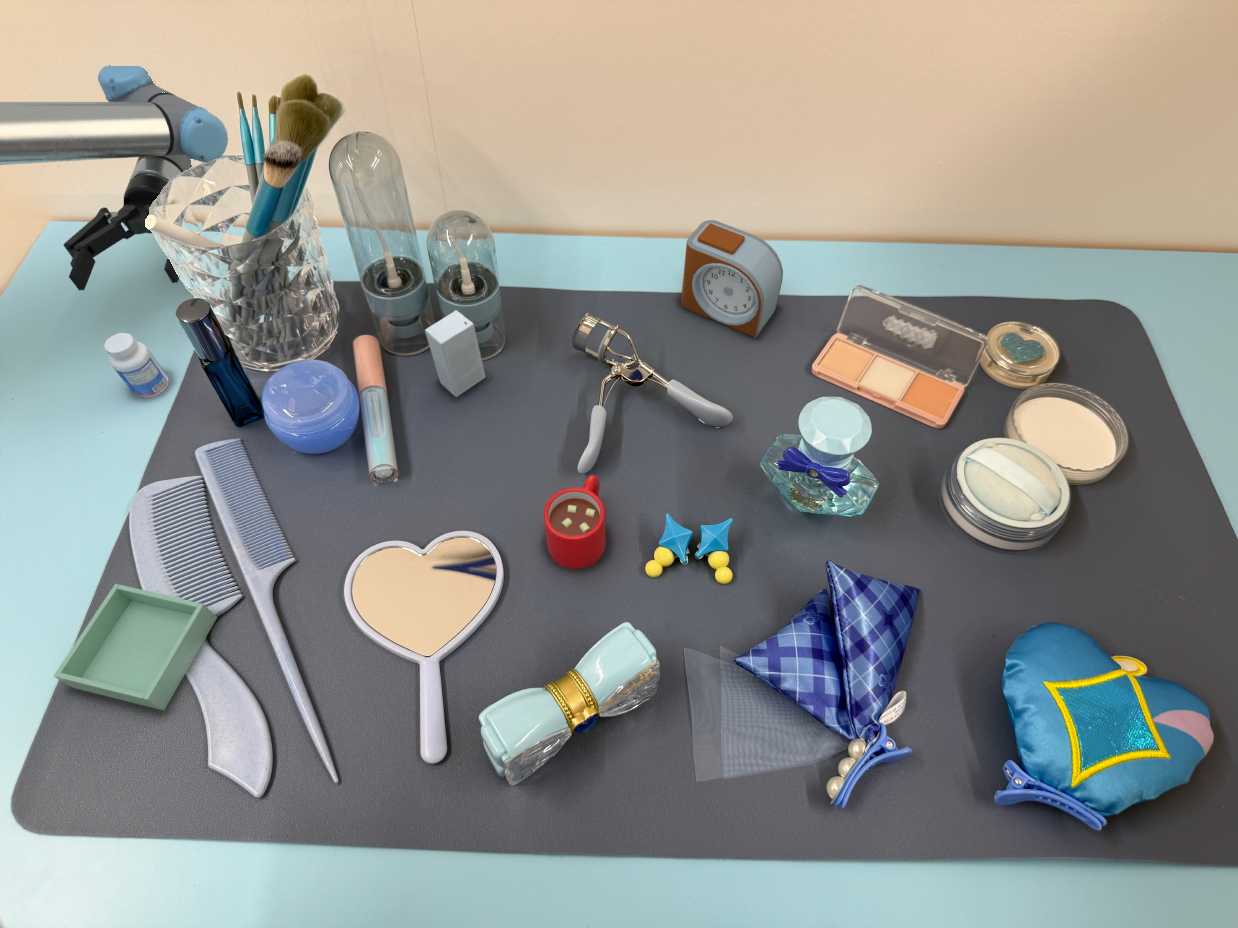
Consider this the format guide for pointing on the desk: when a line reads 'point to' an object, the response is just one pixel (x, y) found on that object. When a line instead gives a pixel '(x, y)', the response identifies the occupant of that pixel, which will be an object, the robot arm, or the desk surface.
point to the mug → (576, 525)
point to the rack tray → (137, 646)
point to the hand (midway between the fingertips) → (123, 280)
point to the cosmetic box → (455, 353)
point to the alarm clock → (731, 277)
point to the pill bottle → (135, 365)
